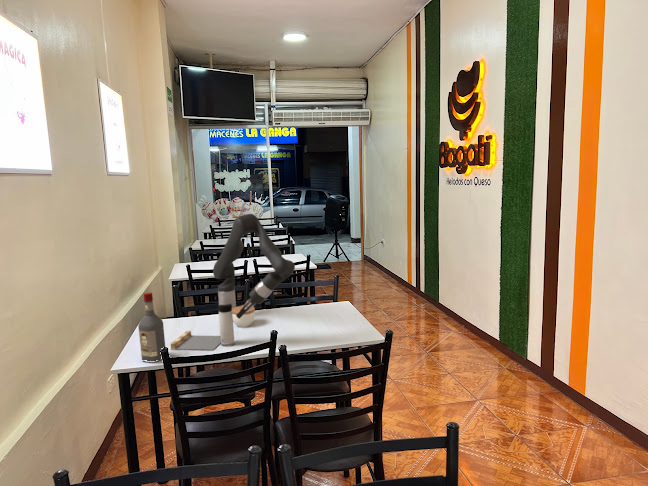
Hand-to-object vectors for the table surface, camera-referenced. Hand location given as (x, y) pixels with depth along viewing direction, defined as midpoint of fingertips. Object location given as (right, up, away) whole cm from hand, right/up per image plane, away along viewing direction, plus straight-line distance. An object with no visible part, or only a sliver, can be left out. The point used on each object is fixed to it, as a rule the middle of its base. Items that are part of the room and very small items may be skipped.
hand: (237, 316), depth 209 cm
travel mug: (-5, -14, +3) cm, 15 cm away
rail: (-29, -14, +7) cm, 33 cm away
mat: (-19, -14, +6) cm, 24 cm away
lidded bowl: (-3, -10, +30) cm, 32 cm away
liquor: (-35, -17, -11) cm, 41 cm away
